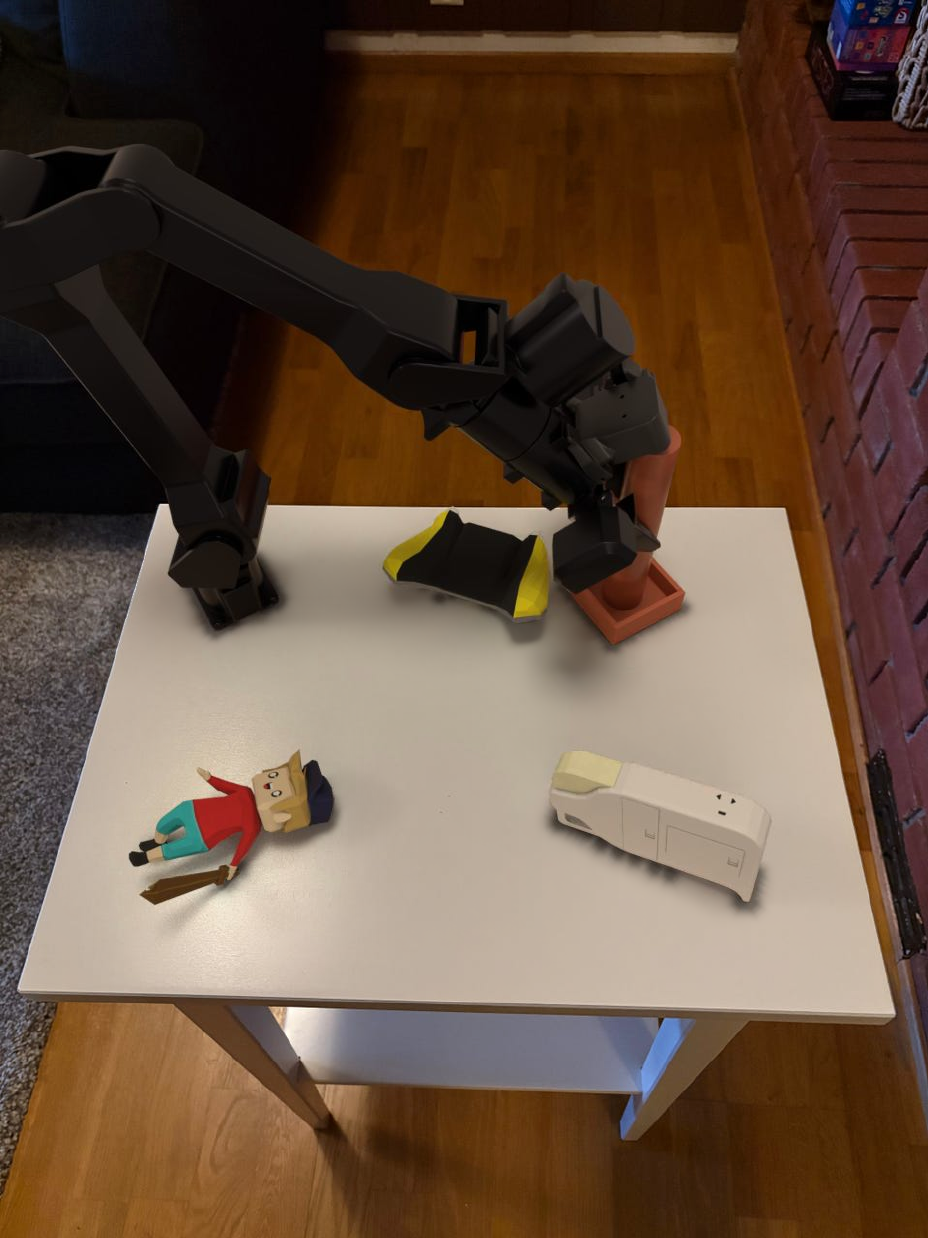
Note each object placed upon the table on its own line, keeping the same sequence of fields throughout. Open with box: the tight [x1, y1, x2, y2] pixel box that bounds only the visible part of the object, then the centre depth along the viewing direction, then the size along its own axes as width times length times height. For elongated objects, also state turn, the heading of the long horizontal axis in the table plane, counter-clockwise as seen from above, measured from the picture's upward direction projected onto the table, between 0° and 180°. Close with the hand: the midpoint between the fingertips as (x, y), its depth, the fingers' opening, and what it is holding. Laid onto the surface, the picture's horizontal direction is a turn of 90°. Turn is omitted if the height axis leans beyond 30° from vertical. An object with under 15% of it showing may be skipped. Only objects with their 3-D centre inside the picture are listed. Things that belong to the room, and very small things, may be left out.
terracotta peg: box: [602, 424, 682, 610], centre depth 71 cm, size 4×4×19 cm
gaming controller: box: [382, 505, 550, 624], centre depth 78 cm, size 15×6×10 cm
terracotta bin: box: [566, 556, 686, 646], centre depth 78 cm, size 8×8×2 cm
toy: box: [128, 748, 335, 906], centre depth 64 cm, size 9×6×15 cm
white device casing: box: [548, 750, 772, 903], centre depth 62 cm, size 11×3×15 cm
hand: (653, 528), depth 71 cm, fingers open, 4 cm apart
